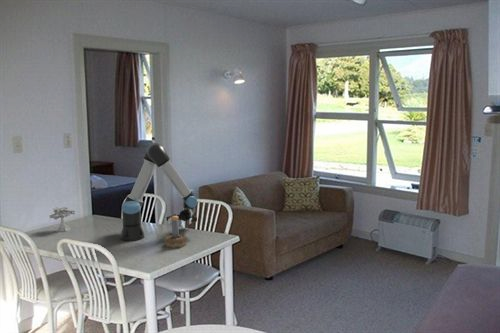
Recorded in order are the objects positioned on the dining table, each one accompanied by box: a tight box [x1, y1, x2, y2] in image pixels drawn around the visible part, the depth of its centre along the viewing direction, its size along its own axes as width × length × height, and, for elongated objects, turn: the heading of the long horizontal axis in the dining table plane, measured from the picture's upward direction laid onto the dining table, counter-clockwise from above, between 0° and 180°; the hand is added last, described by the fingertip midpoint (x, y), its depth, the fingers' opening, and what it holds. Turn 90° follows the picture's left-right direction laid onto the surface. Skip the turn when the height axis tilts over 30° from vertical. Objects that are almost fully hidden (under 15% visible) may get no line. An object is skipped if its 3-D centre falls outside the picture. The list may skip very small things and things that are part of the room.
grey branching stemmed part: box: [48, 206, 76, 233], centre depth 338 cm, size 18×16×17 cm
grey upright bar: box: [171, 215, 180, 238], centre depth 300 cm, size 4×4×18 cm
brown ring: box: [164, 234, 187, 249], centre depth 300 cm, size 12×12×5 cm
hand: (179, 222), depth 309 cm, fingers open, 13 cm apart
